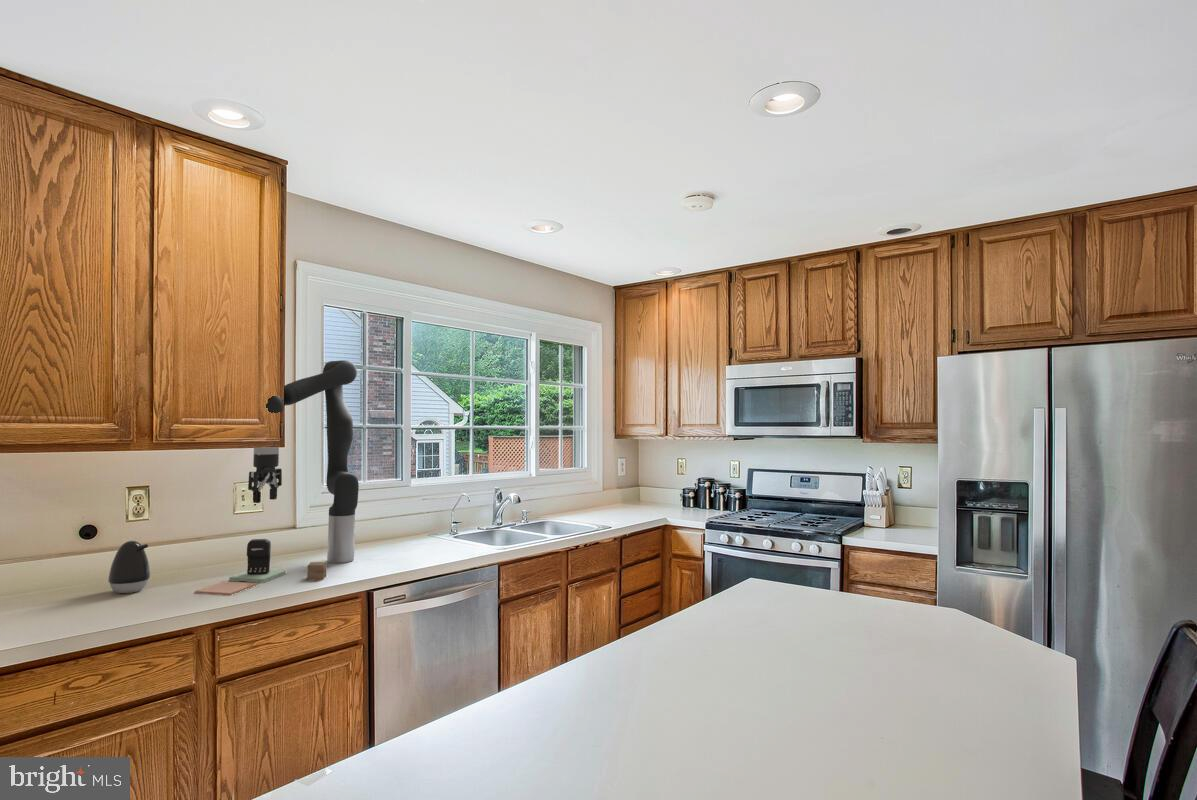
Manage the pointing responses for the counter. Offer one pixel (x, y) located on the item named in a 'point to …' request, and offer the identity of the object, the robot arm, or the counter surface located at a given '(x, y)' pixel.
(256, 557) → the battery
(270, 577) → the sage tile
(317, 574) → the walnut block
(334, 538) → the robot arm
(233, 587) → the terracotta tile
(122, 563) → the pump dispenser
